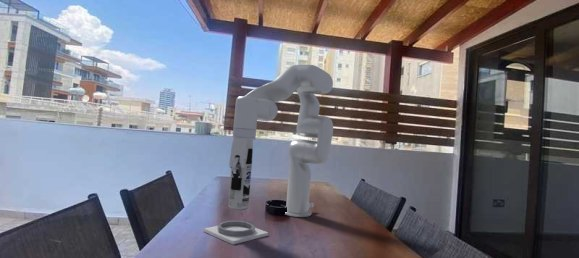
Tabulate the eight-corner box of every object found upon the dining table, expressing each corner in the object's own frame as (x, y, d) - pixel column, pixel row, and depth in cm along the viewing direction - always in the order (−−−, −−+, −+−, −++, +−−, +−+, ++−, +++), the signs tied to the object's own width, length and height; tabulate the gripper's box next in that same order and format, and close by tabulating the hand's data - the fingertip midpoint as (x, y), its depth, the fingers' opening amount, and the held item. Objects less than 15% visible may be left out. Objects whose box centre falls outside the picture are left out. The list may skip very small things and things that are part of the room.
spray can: (244, 211, 111) (249, 149, 111) (224, 208, 112) (229, 147, 112) (250, 207, 117) (256, 148, 117) (231, 204, 119) (237, 146, 119)
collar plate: (238, 224, 126) (238, 217, 126) (267, 235, 116) (268, 228, 116) (203, 231, 114) (204, 223, 114) (233, 244, 104) (233, 236, 104)
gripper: (241, 133, 124) (237, 183, 124) (223, 133, 107) (218, 191, 107) (262, 135, 123) (257, 185, 123) (247, 135, 106) (242, 194, 106)
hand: (239, 187), depth 115 cm, fingers closed on spray can, 6 cm apart
